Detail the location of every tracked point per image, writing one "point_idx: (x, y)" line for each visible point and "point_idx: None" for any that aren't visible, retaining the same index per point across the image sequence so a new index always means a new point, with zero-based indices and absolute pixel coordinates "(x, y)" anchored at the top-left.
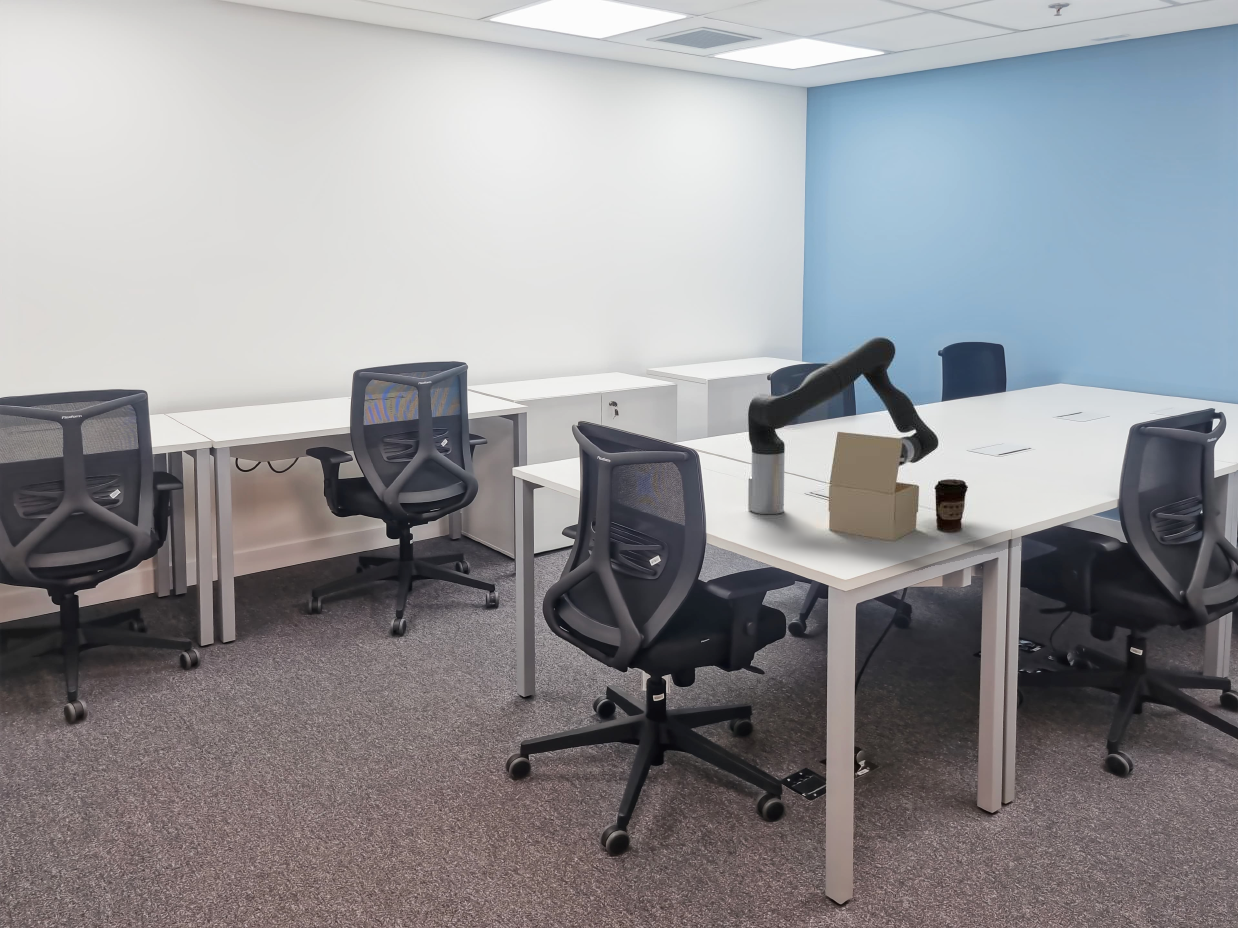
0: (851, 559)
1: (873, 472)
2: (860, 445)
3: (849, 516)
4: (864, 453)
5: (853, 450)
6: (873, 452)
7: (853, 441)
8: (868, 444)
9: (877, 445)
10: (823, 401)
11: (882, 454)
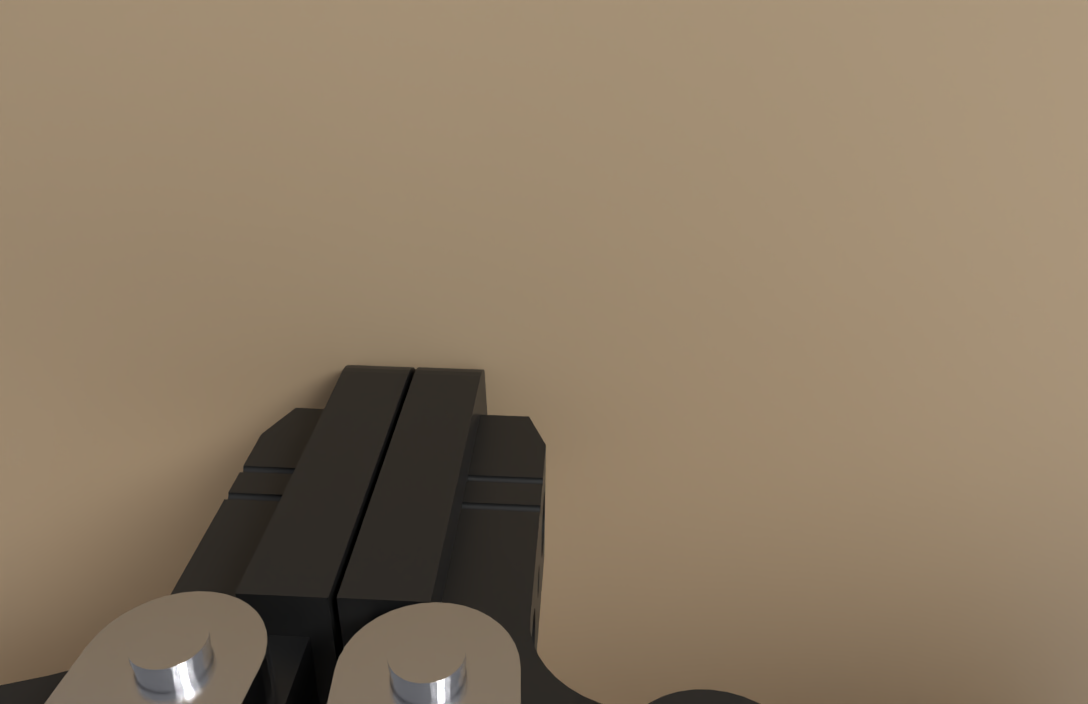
0: None
1: None
2: (644, 100)
3: None
4: (492, 270)
5: (814, 246)
6: (250, 221)
7: (921, 14)
8: (396, 43)
9: (112, 35)
10: None
11: (17, 231)
